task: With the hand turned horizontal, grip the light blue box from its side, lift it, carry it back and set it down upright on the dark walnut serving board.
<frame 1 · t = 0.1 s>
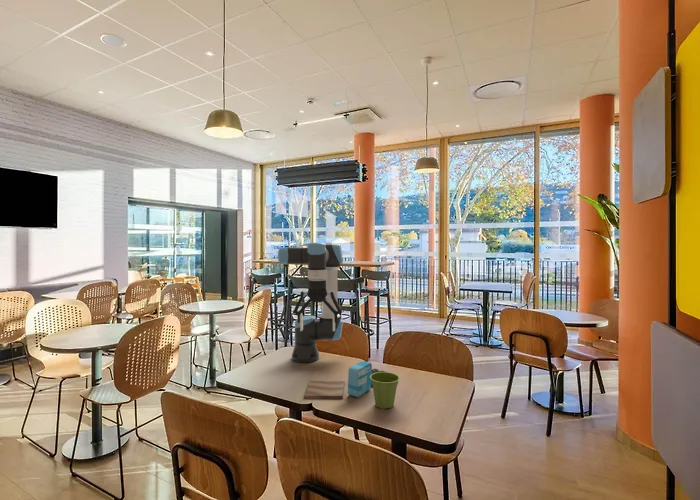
hand: (317, 330, 149), 28 cm above the table, tool pointing down, fingers open, 13 cm apart
light blue box: (359, 392, 154), on the table
board: (325, 390, 156), on the table
plant pot: (384, 405, 142), on the table
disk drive: (374, 380, 168), on the table
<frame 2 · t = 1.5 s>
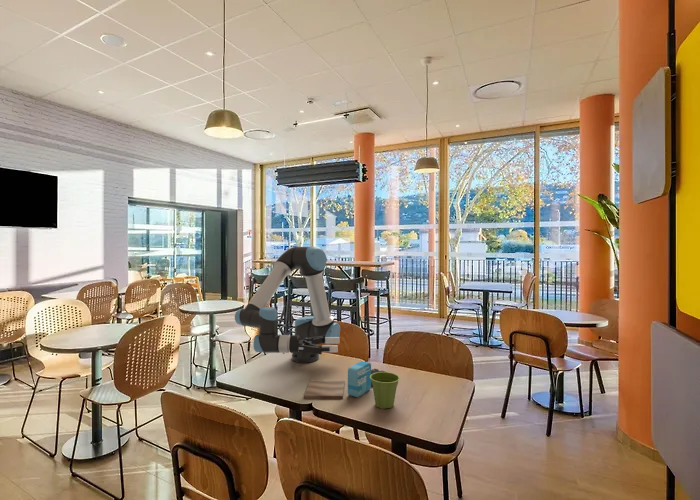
hand: (338, 344, 155), 20 cm above the table, tool horizontal, fingers open, 13 cm apart
nothing on the table moved.
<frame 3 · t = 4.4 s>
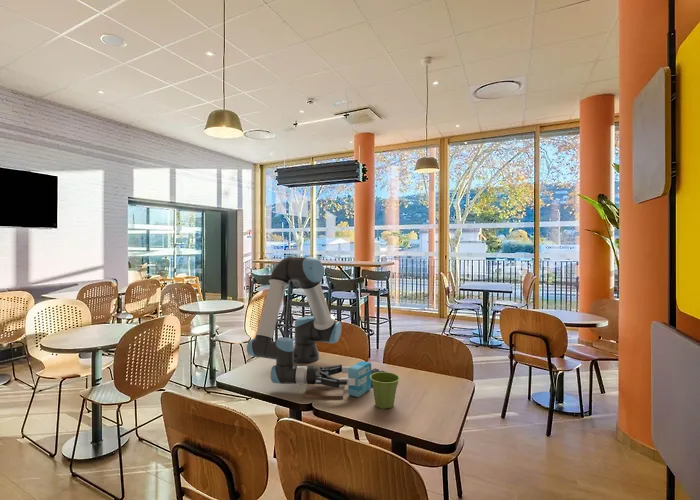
hand: (355, 375, 154), 7 cm above the table, tool horizontal, fingers open, 13 cm apart
light blue box: (360, 392, 154), on the table, touching gripper
everything else where it was.
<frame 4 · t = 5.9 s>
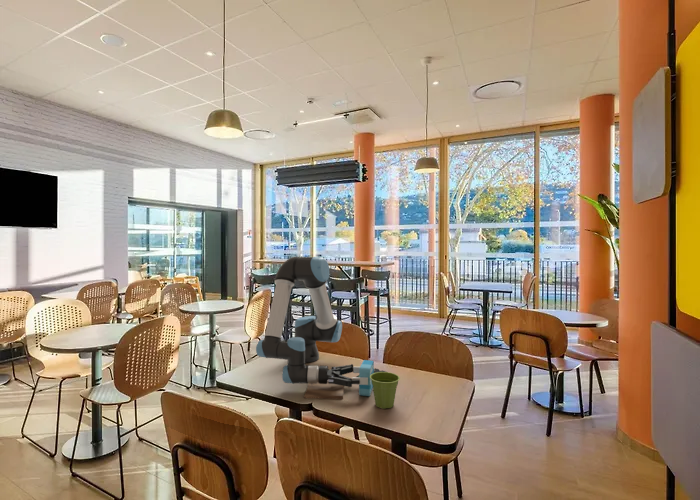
hand: (367, 375, 155), 7 cm above the table, tool horizontal, fingers closed on light blue box, 12 cm apart
light blue box: (366, 391, 155), on the table, touching gripper
everything else where it was.
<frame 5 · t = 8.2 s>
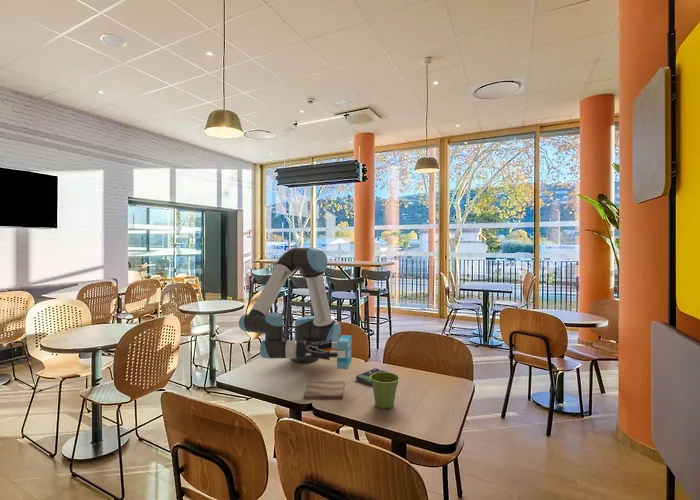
hand: (345, 349, 155), 18 cm above the table, tool horizontal, fingers closed on light blue box, 12 cm apart
light blue box: (344, 365, 155), point 11 cm above the table, touching gripper
everything else where it was.
when the fingers open (10 cm above the table, at t = 10.7 s): light blue box drops 2 cm, resting on board.
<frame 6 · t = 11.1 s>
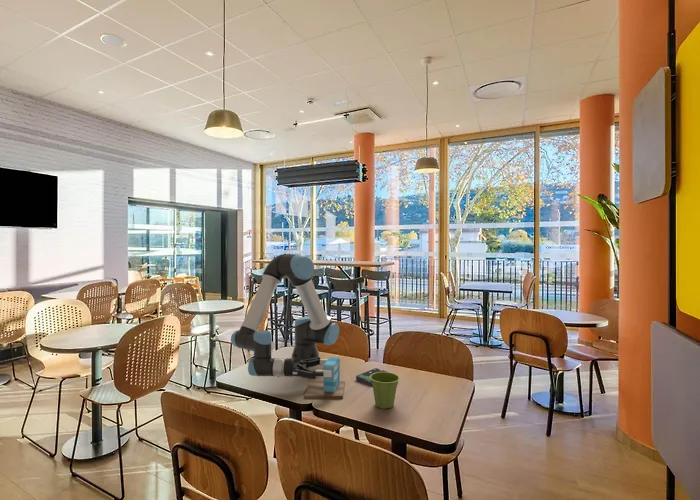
hand: (333, 367, 155), 10 cm above the table, tool horizontal, fingers open, 13 cm apart
light blue box: (331, 388, 155), point 1 cm above the table, touching board
everything else where it was.
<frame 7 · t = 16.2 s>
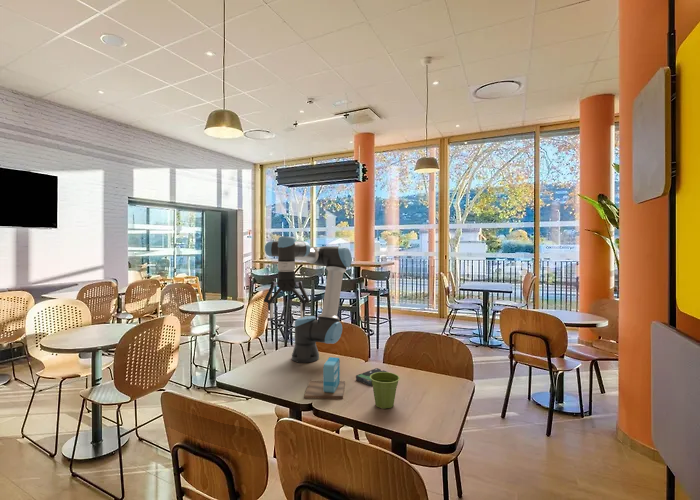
hand: (286, 317, 161), 31 cm above the table, tool pointing down, fingers open, 13 cm apart
nothing on the table moved.
at the end: light blue box inside the target area on the board (2.7 cm from its centre), point 1.0 cm above the board's base; light blue box tilted 0°; the gripper is holding nothing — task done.
